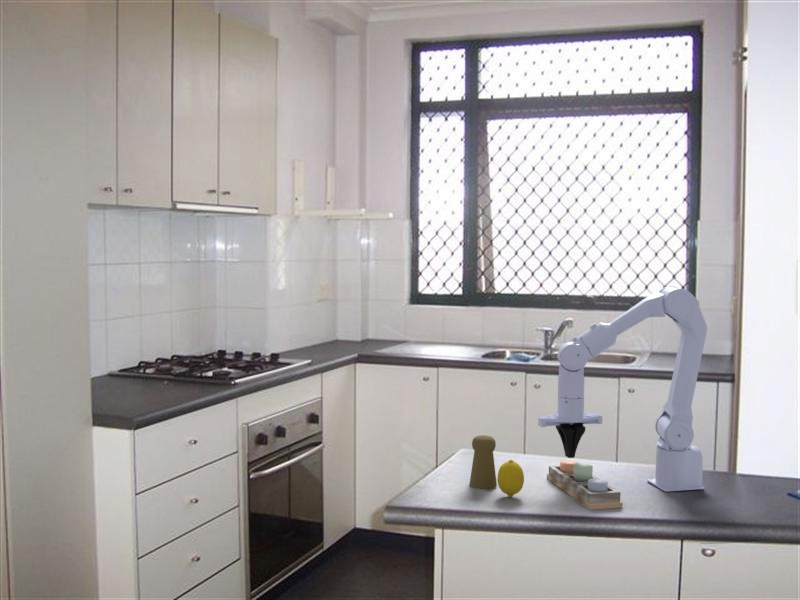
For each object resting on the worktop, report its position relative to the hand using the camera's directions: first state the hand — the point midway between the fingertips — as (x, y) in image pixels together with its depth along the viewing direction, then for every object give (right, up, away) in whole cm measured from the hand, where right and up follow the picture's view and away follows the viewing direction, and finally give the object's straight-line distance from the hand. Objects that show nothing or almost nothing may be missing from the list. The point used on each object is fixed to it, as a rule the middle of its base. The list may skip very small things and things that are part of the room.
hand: (569, 456), depth 187 cm
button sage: (+1, -4, -7) cm, 8 cm away
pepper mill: (-20, -6, -2) cm, 21 cm away
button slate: (+3, -6, -13) cm, 15 cm away
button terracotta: (0, -4, 0) cm, 4 cm away
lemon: (-15, -7, -10) cm, 19 cm away
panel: (+1, -6, -6) cm, 9 cm away
